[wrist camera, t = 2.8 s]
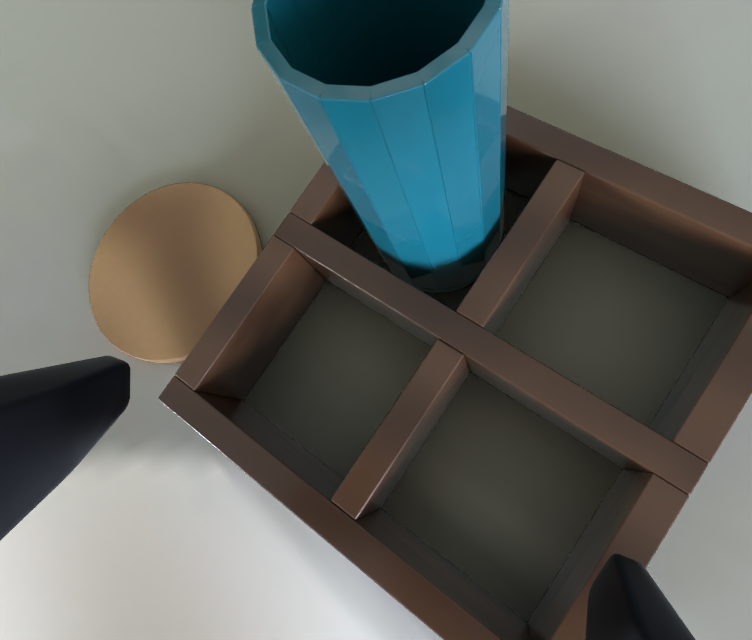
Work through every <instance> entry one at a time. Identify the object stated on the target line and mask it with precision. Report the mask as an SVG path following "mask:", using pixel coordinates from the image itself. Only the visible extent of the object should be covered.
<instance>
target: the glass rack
mask: <svg viewBox="0 0 752 640" xmlns="http://www.w3.org/2000/svg"><path fill="white" fill-rule="evenodd" d="M505 187H506V188H508V189H510V190H512V191H514V192H516V193H518V194H520V195H523V196H525V197H527V198H529V199H530V200H529V202H528V203H527V205H526V206H525V208H524V209H523V211H522V212H521V214H520V215H519V217H518V218H517V220H516V221H515V223H514V224H513V226H512V227H511V229H510V230H509V232H508V233H507V235H506V236H505V238H504V239H503V241H502V242H501V244H500V245H499V247H498V248H497V250H496V251H495V253H494V254H493V256H492V257H491V259H490V260H489V262H488V263H487V265H486V266H485V268H484V269H483V271H482V272H481V274H480V275H479V277H478V278H477V280H476V281H475V283H474V284H473V286H472V287H471V289H470V290H469V292H468V293H467V295H466V296H465V298H464V299H463V301H462V302H461V304H460V305H459V307H458V308H457V310H456V311H454V310H452V309H451V308H449V307H447V306H446V305H444V304H442V303H441V302H439V301H437V300H436V299H434V298H432V297H431V296H429V295H427V294H426V293H424V292H422V291H421V290H419V289H417V288H416V287H414V286H412V285H411V284H409V283H407V282H406V281H404V280H402V279H401V278H399V277H397V276H396V275H394V274H392V273H391V272H389V271H387V270H386V269H384V268H382V267H381V266H379V265H377V264H376V263H374V262H372V261H371V260H369V259H367V258H366V257H364V256H362V255H361V254H359V253H357V252H356V251H354V250H352V249H351V248H349V247H350V246H351V244H352V243H353V241H354V240H355V238H356V237H357V236H358V234H359V233H360V231H361V230H362V228H363V227H364V226H363V225H362V223H361V221H360V220H359V218H358V216H357V215H356V213H355V211H354V210H353V208H352V206H351V205H350V203H349V201H348V200H347V198H346V196H345V195H344V193H343V191H342V190H341V188H340V186H339V185H338V183H337V181H336V180H335V178H334V176H333V175H332V173H331V171H330V170H329V168H328V166H327V165H326V163H324V164H323V165H322V167H321V168H320V170H319V171H318V173H317V174H316V175H315V177H314V178H313V180H312V181H311V182H310V184H309V185H308V187H307V188H306V190H305V191H304V192H303V194H302V195H301V197H300V198H299V199H298V201H297V202H296V204H295V205H294V206H293V208H292V209H291V211H290V212H291V213H289V214H288V215H287V217H286V218H285V219H284V221H283V222H282V224H281V225H280V226H279V228H278V229H277V231H276V232H275V234H274V235H275V236H274V235H273V236H272V238H271V239H270V240H269V242H268V243H267V245H266V246H265V248H264V249H263V250H262V252H261V253H260V255H259V256H258V257H257V259H256V260H255V262H254V263H253V264H252V266H251V267H250V269H249V270H248V272H247V273H246V274H245V276H244V277H243V279H242V280H241V281H240V283H239V284H238V286H237V287H236V289H235V290H234V291H233V293H232V294H231V296H230V297H229V298H228V300H227V301H226V303H225V304H224V305H223V307H222V308H221V310H220V311H219V313H218V314H217V315H216V317H215V318H214V320H213V321H212V322H211V324H210V325H209V327H208V328H207V329H206V331H205V332H204V334H203V335H202V337H201V338H200V339H199V341H198V342H197V344H196V345H195V346H194V348H193V349H192V351H191V352H190V354H189V355H188V356H187V358H186V359H185V361H184V362H183V363H182V365H181V366H180V368H179V369H178V370H177V372H176V373H175V375H176V376H174V377H173V378H172V379H171V381H170V382H169V384H168V385H167V387H166V388H165V389H164V391H163V392H162V394H161V395H160V396H159V398H158V399H159V401H160V402H162V403H163V404H164V405H165V406H166V407H168V408H169V409H170V410H171V411H172V412H174V413H175V414H176V415H177V416H178V417H179V418H181V419H182V420H183V421H184V422H185V423H187V424H188V425H189V426H190V427H191V428H193V429H194V430H195V431H196V432H197V433H198V434H200V435H201V436H202V437H203V438H204V439H206V440H207V441H208V442H209V443H210V444H212V445H213V446H214V447H215V448H216V449H217V450H219V451H220V452H221V453H222V454H223V455H225V456H226V457H227V458H228V459H229V460H231V461H232V462H233V463H234V464H235V465H236V466H238V467H239V468H240V469H241V470H242V471H244V472H245V473H246V474H247V475H248V476H250V477H251V478H252V479H253V480H254V481H256V482H257V483H258V484H259V485H260V486H261V487H263V488H264V489H265V490H266V491H267V492H269V493H270V494H271V495H272V496H273V497H275V498H276V499H277V500H278V501H279V502H280V503H282V504H283V505H284V506H285V507H286V508H288V509H289V510H290V511H291V512H292V513H294V514H295V515H296V516H297V517H298V518H299V519H301V520H302V521H303V522H304V523H305V524H307V525H308V526H309V527H310V528H311V529H313V530H314V531H315V532H316V533H317V534H318V535H320V536H321V537H322V538H323V539H324V540H326V541H327V542H328V543H329V544H330V545H332V546H333V547H334V548H335V549H336V550H337V551H339V552H340V553H341V554H342V555H343V556H345V557H346V558H347V559H348V560H349V561H351V562H352V563H353V564H354V565H355V566H356V567H358V568H359V569H360V570H361V571H362V572H364V573H365V574H366V575H367V576H368V577H370V578H371V579H372V580H373V581H374V582H375V583H377V584H378V585H379V586H380V587H381V588H383V589H384V590H385V591H386V592H387V593H389V594H390V595H391V596H392V597H393V598H395V599H396V600H397V601H398V602H399V603H400V604H402V605H403V606H404V607H405V608H406V609H408V610H409V611H410V612H411V613H412V614H414V615H415V616H416V617H417V618H418V619H419V620H421V621H422V622H423V623H424V624H425V625H427V626H428V627H429V628H430V629H431V630H433V631H434V632H435V633H436V634H437V635H438V636H440V637H441V638H442V639H443V640H585V639H586V622H587V606H588V595H589V591H590V588H591V585H592V583H593V582H594V580H595V579H596V577H597V576H598V574H599V572H600V571H601V569H602V568H603V566H604V565H605V563H606V562H607V560H608V559H609V557H610V556H611V555H613V554H621V555H623V556H626V557H628V558H631V559H633V560H636V561H638V562H640V563H641V564H642V565H643V566H644V567H645V569H646V567H647V565H648V564H649V562H650V560H651V559H652V557H653V555H654V554H655V552H656V550H657V549H658V547H659V545H660V544H661V542H662V541H663V539H664V537H665V536H666V534H667V532H668V531H669V529H670V527H671V526H672V524H673V522H674V521H675V519H676V517H677V516H678V514H679V512H680V511H681V509H682V507H683V506H684V504H685V502H686V501H687V499H688V498H689V496H688V495H690V494H691V492H692V491H693V489H694V487H695V486H696V484H697V482H698V481H699V479H700V478H701V476H702V474H703V473H704V471H705V469H706V468H707V466H708V463H709V462H710V461H711V460H712V458H713V456H714V455H715V453H716V451H717V450H718V448H719V446H720V445H721V443H722V441H723V440H724V438H725V436H726V435H727V433H728V432H729V430H730V428H731V427H732V425H733V423H734V422H735V420H736V418H737V417H738V415H739V413H740V412H741V410H742V408H743V407H744V405H745V403H746V402H747V400H748V398H749V397H750V395H751V393H752V213H751V212H749V211H746V210H744V209H742V208H740V207H737V206H735V205H733V204H730V203H728V202H726V201H724V200H721V199H719V198H717V197H714V196H712V195H710V194H708V193H705V192H703V191H701V190H698V189H696V188H694V187H692V186H689V185H687V184H685V183H682V182H680V181H678V180H676V179H673V178H671V177H669V176H666V175H664V174H662V173H660V172H657V171H655V170H653V169H650V168H648V167H646V166H644V165H641V164H639V163H637V162H634V161H632V160H630V159H628V158H625V157H623V156H621V155H618V154H616V153H614V152H612V151H609V150H607V149H605V148H602V147H600V146H598V145H596V144H593V143H591V142H589V141H586V140H584V139H582V138H579V137H577V136H575V135H573V134H570V133H568V132H566V131H563V130H561V129H559V128H557V127H554V126H552V125H550V124H547V123H545V122H543V121H541V120H538V119H536V118H534V117H531V116H529V115H527V114H525V113H522V112H520V111H518V110H515V109H513V108H511V107H509V106H507V111H506V150H505ZM570 219H571V220H573V221H575V222H577V223H579V224H581V225H583V226H585V227H587V228H589V229H591V230H593V231H595V232H597V233H599V234H602V235H604V236H606V237H608V238H610V239H612V240H614V241H616V242H618V243H620V244H622V245H624V246H626V247H628V248H630V249H632V250H634V251H636V252H638V253H640V254H642V255H644V256H646V257H648V258H650V259H652V260H654V261H656V262H658V263H660V264H662V265H664V266H666V267H668V268H670V269H672V270H674V271H676V272H678V273H680V274H683V275H685V276H687V277H689V278H691V279H693V280H695V281H697V282H699V283H701V284H703V285H705V286H707V287H709V288H711V289H713V290H715V291H717V292H719V293H721V294H723V295H725V296H727V297H729V298H728V299H727V301H726V303H725V304H724V306H723V308H722V309H721V311H720V312H719V314H718V316H717V317H716V319H715V320H714V322H713V324H712V325H711V327H710V329H709V330H708V332H707V333H706V335H705V337H704V338H703V340H702V341H701V343H700V345H699V346H698V348H697V350H696V351H695V353H694V354H693V356H692V358H691V359H690V361H689V362H688V364H687V366H686V367H685V369H684V370H683V372H682V374H681V375H680V377H679V379H678V380H677V382H676V383H675V385H674V387H673V388H672V390H671V391H670V393H669V395H668V396H667V398H666V400H665V401H664V403H663V404H662V406H661V408H660V409H659V411H658V412H657V414H656V416H655V417H654V419H653V421H652V422H651V424H650V425H649V427H647V426H646V425H644V424H642V423H641V422H639V421H637V420H636V419H634V418H632V417H631V416H629V415H627V414H626V413H624V412H622V411H621V410H619V409H617V408H616V407H614V406H612V405H611V404H609V403H607V402H606V401H604V400H602V399H601V398H599V397H597V396H596V395H594V394H592V393H591V392H589V391H587V390H586V389H584V388H582V387H581V386H579V385H577V384H576V383H574V382H572V381H571V380H569V379H567V378H566V377H564V376H562V375H561V374H559V373H557V372H556V371H554V370H552V369H551V368H549V367H547V366H546V365H544V364H542V363H541V362H539V361H537V360H536V359H534V358H532V357H531V356H529V355H527V354H526V353H524V352H522V351H521V350H519V349H517V348H516V347H514V346H512V345H511V344H509V343H507V342H506V341H504V340H502V339H501V338H499V337H497V336H496V335H495V334H496V333H497V331H498V330H499V328H500V326H501V325H502V323H503V322H504V320H505V319H506V317H507V316H508V314H509V313H510V311H511V310H512V308H513V307H514V305H515V304H516V302H517V301H518V299H519V297H520V296H521V294H522V293H523V291H524V290H525V288H526V287H527V285H528V284H529V282H530V281H531V279H532V278H533V276H534V275H535V273H536V272H537V270H538V269H539V267H540V265H541V264H542V262H543V261H544V259H545V258H546V256H547V255H548V253H549V252H550V250H551V249H552V247H553V246H554V244H555V243H556V241H557V240H558V238H559V237H560V235H561V233H562V232H563V230H564V229H565V227H566V226H567V224H568V223H569V221H570ZM326 280H327V281H329V282H331V283H332V284H334V285H335V286H337V287H338V288H340V289H342V290H343V291H345V292H346V293H348V294H349V295H351V296H353V297H354V298H356V299H357V300H359V301H360V302H362V303H364V304H365V305H367V306H368V307H370V308H371V309H373V310H375V311H376V312H378V313H379V314H381V315H382V316H384V317H386V318H387V319H389V320H390V321H392V322H393V323H395V324H397V325H398V326H400V327H401V328H403V329H405V330H406V331H408V332H409V333H411V334H412V335H414V336H416V337H417V338H419V339H420V340H422V341H423V342H425V343H427V344H428V345H430V346H431V349H430V350H429V352H428V353H427V355H426V356H425V358H424V359H423V361H422V362H421V364H420V365H419V367H418V368H417V370H416V371H415V373H414V374H413V376H412V377H411V379H410V380H409V382H408V384H407V385H406V387H405V388H404V390H403V391H402V393H401V394H400V396H399V397H398V399H397V400H396V402H395V403H394V405H393V406H392V408H391V409H390V411H389V412H388V414H387V415H386V417H385V418H384V420H383V421H382V423H381V424H380V426H379V427H378V429H377V430H376V432H375V433H374V435H373V436H372V438H371V439H370V441H369V442H368V444H367V445H366V447H365V448H364V450H363V451H362V453H361V454H360V456H359V457H358V459H357V460H356V462H355V463H354V465H353V466H352V468H351V469H350V471H349V472H348V474H347V475H346V477H345V478H344V479H343V478H341V477H340V476H339V475H337V474H336V473H335V472H334V471H332V470H331V469H330V468H328V467H327V466H326V465H325V464H323V463H322V462H321V461H320V460H318V459H317V458H316V457H314V456H313V455H312V454H311V453H309V452H308V451H307V450H305V449H304V448H303V447H302V446H300V445H299V444H298V443H297V442H295V441H294V440H293V439H291V438H290V437H289V436H288V435H286V434H285V433H284V432H282V431H281V430H280V429H279V428H277V427H276V426H275V425H274V424H272V423H271V422H270V421H268V420H267V419H266V418H265V417H263V416H262V415H261V414H259V413H258V412H257V411H256V410H254V409H253V408H252V407H251V406H249V405H248V404H247V403H245V402H244V401H243V400H244V399H245V397H246V396H247V394H248V393H249V391H250V390H251V389H252V387H253V386H254V384H255V383H256V381H257V380H258V378H259V377H260V376H261V374H262V373H263V371H264V370H265V368H266V367H267V365H268V364H269V363H270V361H271V360H272V358H273V357H274V355H275V354H276V352H277V351H278V350H279V348H280V347H281V345H282V344H283V342H284V341H285V339H286V338H287V337H288V335H289V334H290V332H291V331H292V329H293V328H294V326H295V325H296V324H297V322H298V321H299V319H300V318H301V316H302V315H303V313H304V312H305V311H306V309H307V308H308V306H309V305H310V303H311V302H312V300H313V299H314V298H315V296H316V295H317V293H318V292H319V290H320V289H321V287H322V286H323V285H324V283H325V282H326ZM470 371H471V372H472V373H474V374H475V375H477V376H478V377H480V378H482V379H483V380H485V381H486V382H488V383H489V384H491V385H493V386H494V387H496V388H497V389H499V390H500V391H502V392H504V393H505V394H507V395H508V396H510V397H511V398H513V399H515V400H516V401H518V402H519V403H521V404H522V405H524V406H526V407H527V408H529V409H530V410H532V411H533V412H535V413H537V414H538V415H540V416H541V417H543V418H544V419H546V420H548V421H549V422H551V423H552V424H554V425H555V426H557V427H559V428H560V429H562V430H563V431H565V432H566V433H568V434H570V435H571V436H573V437H574V438H576V439H577V440H579V441H581V442H582V443H584V444H585V445H587V446H588V447H590V448H592V449H593V450H595V451H596V452H598V453H599V454H601V455H603V456H604V457H606V458H607V459H609V460H610V461H612V462H614V463H615V464H617V465H618V466H620V467H621V468H623V469H622V471H621V472H620V474H619V475H618V477H617V479H616V480H615V482H614V484H613V485H612V487H611V488H610V490H609V492H608V493H607V495H606V496H605V498H604V500H603V501H602V503H601V505H600V506H599V508H598V509H597V511H596V513H595V514H594V516H593V517H592V519H591V521H590V522H589V524H588V526H587V527H586V529H585V530H584V532H583V534H582V535H581V537H580V538H579V540H578V542H577V543H576V545H575V547H574V548H573V550H572V551H571V553H570V555H569V556H568V558H567V559H566V561H565V563H564V564H563V566H562V568H561V569H560V571H559V572H558V574H557V576H556V577H555V579H554V580H553V582H552V584H551V585H550V587H549V589H548V590H547V592H546V593H545V595H544V597H543V598H542V600H541V601H540V603H539V605H538V606H537V608H536V610H535V611H534V613H533V614H532V616H531V618H530V619H529V621H528V623H527V622H525V621H524V620H523V619H521V618H520V617H519V616H518V615H516V614H515V613H514V612H513V611H511V610H510V609H509V608H507V607H506V606H505V605H504V604H502V603H501V602H500V601H498V600H497V599H496V598H495V597H493V596H492V595H491V594H490V593H488V592H487V591H486V590H484V589H483V588H482V587H481V586H479V585H478V584H477V583H475V582H474V581H473V580H472V579H470V578H469V577H468V576H467V575H465V574H464V573H463V572H461V571H460V570H459V569H458V568H456V567H455V566H454V565H452V564H451V563H450V562H449V561H447V560H446V559H445V558H444V557H442V556H441V555H440V554H438V553H437V552H436V551H435V550H433V549H432V548H431V547H429V546H428V545H427V544H426V543H424V542H423V541H422V540H421V539H419V538H418V537H417V536H415V535H414V534H413V533H412V532H410V531H409V530H408V529H406V528H405V527H404V526H403V525H401V524H400V523H399V522H397V521H396V520H395V519H394V518H392V517H391V516H390V515H389V514H387V513H386V512H385V511H383V510H382V509H381V507H382V506H383V505H384V503H385V502H386V500H387V499H388V497H389V495H390V494H391V492H392V491H393V489H394V488H395V486H396V485H397V483H398V482H399V480H400V479H401V477H402V476H403V474H404V473H405V471H406V470H407V468H408V467H409V465H410V463H411V462H412V460H413V459H414V457H415V456H416V454H417V453H418V451H419V450H420V448H421V447H422V445H423V444H424V442H425V441H426V439H427V438H428V436H429V435H430V433H431V431H432V430H433V428H434V427H435V425H436V424H437V422H438V421H439V419H440V418H441V416H442V415H443V413H444V412H445V410H446V409H447V407H448V406H449V404H450V403H451V401H452V399H453V398H454V396H455V395H456V393H457V392H458V390H459V389H460V387H461V386H462V384H463V383H464V381H465V380H466V378H467V377H468V375H469V374H470ZM687 494H688V495H687Z"/></svg>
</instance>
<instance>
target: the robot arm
mask: <svg viewBox="0 0 752 640" xmlns="http://www.w3.org/2000/svg"><path fill="white" fill-rule="evenodd" d="M129 399H130V367H129V364H128V363H126V362H125V361H122V360H120V359H117V358H114V357H112V356H102V357H97V358H92V359H86V360H81V361H76V362H71V363H66V364H60V365H55V366H50V367H45V368H40V369H34V370H29V371H24V372H19V373H14V374H8V375H3V376H0V540H1V539H2V538H3V537H5V536H6V535H7V534H8V533H9V532H10V531H11V530H12V529H13V528H14V527H15V526H16V525H17V524H18V523H19V522H20V521H21V520H22V519H23V518H24V517H25V516H26V515H27V514H29V513H30V512H31V511H32V510H33V509H34V508H35V507H36V506H37V505H38V504H39V503H40V502H41V501H42V500H43V499H44V498H45V497H46V496H47V495H48V494H49V493H50V492H51V491H53V490H54V489H55V488H56V487H57V486H58V485H59V484H60V483H61V482H62V481H63V480H64V479H65V478H66V477H67V476H68V475H69V474H70V473H71V472H72V471H73V469H74V468H75V467H76V466H77V465H78V464H79V463H80V462H81V461H82V459H83V458H84V457H85V456H86V455H87V454H88V452H89V451H90V450H91V449H92V448H93V447H94V445H95V444H96V443H97V442H98V441H99V440H100V438H101V437H102V436H103V435H104V434H105V433H106V431H107V430H108V429H109V428H110V427H111V426H112V424H113V423H114V422H115V421H116V420H117V419H118V417H119V416H120V415H121V414H122V413H123V412H124V410H125V409H126V407H127V405H128V403H129ZM585 640H695V638H694V637H693V636H692V634H691V633H690V631H689V630H688V628H687V627H686V626H685V624H684V623H683V621H682V620H681V618H680V617H679V616H678V614H677V613H676V611H675V610H674V609H673V607H672V606H671V604H670V603H669V601H668V600H667V599H666V597H665V596H664V594H663V593H662V592H661V590H660V589H659V587H658V586H657V584H656V583H655V582H654V580H653V579H652V577H651V576H650V574H649V573H648V572H647V570H646V569H645V567H644V566H643V565H642V564H641V563H640V562H638V561H636V560H633V559H631V558H628V557H626V556H623V555H621V554H613V555H611V556H610V557H609V559H608V560H607V562H606V563H605V565H604V566H603V568H602V569H601V571H600V572H599V574H598V576H597V577H596V579H595V580H594V582H593V583H592V585H591V588H590V591H589V595H588V606H587V622H586V639H585Z"/></svg>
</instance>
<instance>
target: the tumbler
mask: <svg viewBox="0 0 752 640" xmlns="http://www.w3.org/2000/svg"><path fill="white" fill-rule="evenodd" d="M251 10H252V18H253V25H254V33H255V41H256V47H257V49H258V51H259V53H260V54H261V56H262V58H263V59H264V61H265V63H266V64H267V66H268V68H269V69H270V71H271V73H272V74H273V76H274V78H275V80H276V81H277V83H278V85H279V86H280V88H281V90H282V91H283V93H284V95H285V96H286V98H287V100H288V101H289V103H290V105H291V106H292V108H293V110H294V111H295V113H296V115H297V116H298V118H299V120H300V121H301V123H302V125H303V126H304V128H305V130H306V131H307V133H308V135H309V136H310V138H311V140H312V141H313V143H314V145H315V146H316V148H317V150H318V151H319V153H320V155H321V156H322V158H323V160H324V161H325V163H326V165H327V166H328V168H329V170H330V171H331V173H332V175H333V176H334V178H335V180H336V181H337V183H338V185H339V186H340V188H341V190H342V191H343V193H344V195H345V196H346V198H347V200H348V201H349V203H350V205H351V206H352V208H353V210H354V211H355V213H356V215H357V216H358V218H359V220H360V221H361V223H362V225H363V226H364V228H365V230H366V231H367V233H368V235H369V236H370V238H371V240H372V241H373V243H374V245H375V246H376V248H377V250H378V251H379V253H380V255H381V256H382V258H383V259H384V261H385V262H386V264H387V265H388V267H389V268H390V270H391V271H392V272H393V274H394V275H396V276H397V277H399V278H401V279H402V280H404V281H406V282H407V283H409V284H411V285H412V286H414V287H416V288H417V289H419V290H421V291H425V292H432V293H445V292H450V291H455V290H458V289H461V288H463V287H466V286H468V285H470V284H471V283H473V282H475V281H476V280H477V278H478V277H479V275H480V274H481V272H482V271H483V269H484V268H485V266H486V265H487V263H488V262H489V260H490V259H491V257H492V256H493V254H494V253H495V251H496V250H497V248H498V247H499V245H500V244H501V242H502V232H503V226H504V189H505V150H506V111H507V72H508V32H509V0H253V3H252V9H251Z"/></svg>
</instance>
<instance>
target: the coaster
mask: <svg viewBox="0 0 752 640" xmlns="http://www.w3.org/2000/svg"><path fill="white" fill-rule="evenodd" d="M261 252H262V247H261V242H260V237H259V234H258V231H257V229H256V226H255V224H254V222H253V221H252V219H251V217H250V216H249V214H248V213H247V212H246V210H245V209H244V208H243V207H242V206H241V205H240V204H239V203H238V202H237V201H236V200H235V199H234V198H232V197H231V196H229V195H228V194H227V193H225V192H223V191H221V190H219V189H217V188H215V187H212V186H209V185H205V184H199V183H177V184H172V185H168V186H164V187H161V188H158V189H156V190H153V191H151V192H149V193H147V194H145V195H144V196H142V197H140V198H139V199H137V200H136V201H134V202H133V203H132V204H131V205H129V206H128V207H127V208H126V209H125V210H124V211H123V212H122V213H121V214H120V215H119V216H118V217H117V218H116V219H115V220H114V222H113V223H112V224H111V225H110V227H109V228H108V230H107V231H106V233H105V234H104V236H103V238H102V240H101V242H100V244H99V246H98V248H97V251H96V253H95V256H94V259H93V263H92V266H91V272H90V278H89V297H90V304H91V309H92V313H93V315H94V318H95V321H96V323H97V325H98V327H99V329H100V330H101V332H102V333H103V334H104V336H105V337H106V338H107V340H108V341H109V342H111V343H112V344H113V345H114V346H115V347H116V348H118V349H119V350H120V351H122V352H123V353H125V354H127V355H130V356H132V357H134V358H138V359H141V360H145V361H149V362H155V363H174V362H180V361H185V359H186V358H187V356H188V355H189V354H190V352H191V351H192V349H193V348H194V346H195V345H196V344H197V342H198V341H199V339H200V338H201V337H202V335H203V334H204V332H205V331H206V329H207V328H208V327H209V325H210V324H211V322H212V321H213V320H214V318H215V317H216V315H217V314H218V313H219V311H220V310H221V308H222V307H223V305H224V304H225V303H226V301H227V300H228V298H229V297H230V296H231V294H232V293H233V291H234V290H235V289H236V287H237V286H238V284H239V283H240V281H241V280H242V279H243V277H244V276H245V274H246V273H247V272H248V270H249V269H250V267H251V266H252V264H253V263H254V262H255V260H256V259H257V257H258V256H259V255H260V253H261Z"/></svg>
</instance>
